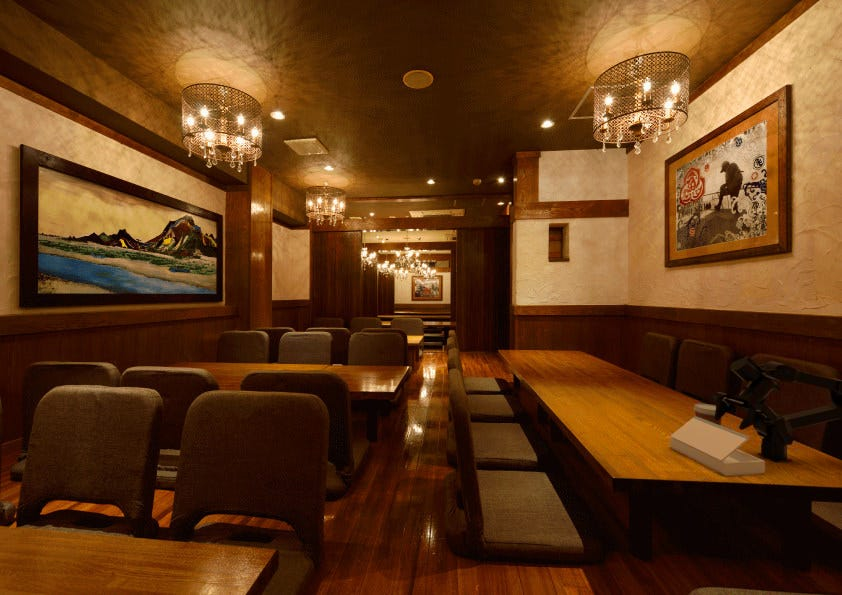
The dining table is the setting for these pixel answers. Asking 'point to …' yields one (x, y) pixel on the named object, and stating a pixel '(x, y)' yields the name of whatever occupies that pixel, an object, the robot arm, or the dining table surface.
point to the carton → (730, 466)
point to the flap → (710, 438)
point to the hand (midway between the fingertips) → (727, 424)
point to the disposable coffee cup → (706, 412)
